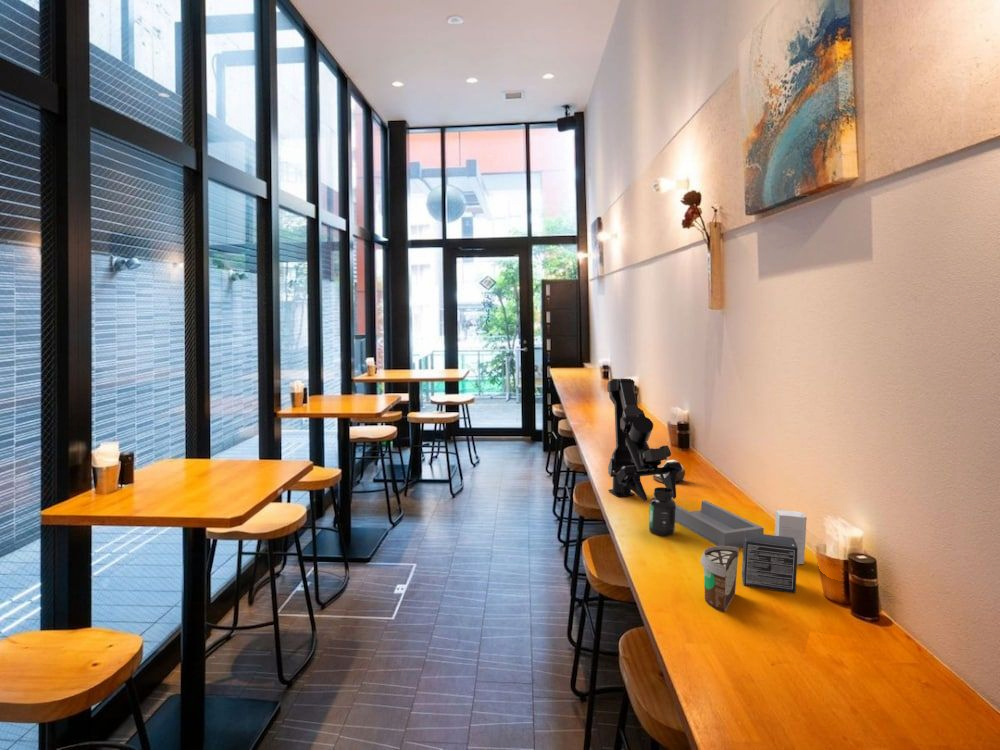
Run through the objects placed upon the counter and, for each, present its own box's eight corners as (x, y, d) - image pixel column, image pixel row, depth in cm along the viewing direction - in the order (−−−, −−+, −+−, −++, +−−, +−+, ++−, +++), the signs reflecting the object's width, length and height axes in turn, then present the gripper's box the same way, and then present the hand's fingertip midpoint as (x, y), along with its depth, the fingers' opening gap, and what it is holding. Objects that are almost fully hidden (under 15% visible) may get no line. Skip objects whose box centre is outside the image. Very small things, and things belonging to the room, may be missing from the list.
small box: (791, 581, 128) (794, 536, 127) (796, 594, 122) (799, 547, 121) (740, 573, 131) (743, 530, 130) (743, 586, 125) (745, 540, 124)
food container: (707, 583, 126) (709, 540, 125) (736, 591, 123) (739, 546, 122) (691, 606, 116) (693, 559, 115) (722, 615, 113) (725, 567, 112)
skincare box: (799, 558, 140) (802, 511, 139) (804, 565, 136) (807, 517, 135) (772, 555, 141) (775, 509, 140) (776, 562, 137) (779, 515, 136)
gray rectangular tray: (666, 516, 168) (666, 503, 168) (702, 511, 172) (703, 498, 172) (724, 549, 145) (725, 534, 144) (765, 543, 149) (766, 528, 148)
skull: (645, 477, 205) (655, 454, 209) (655, 492, 211) (665, 468, 215) (676, 483, 196) (685, 459, 200) (686, 498, 202) (695, 474, 206)
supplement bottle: (647, 534, 154) (649, 491, 153) (650, 526, 160) (651, 484, 159) (673, 538, 152) (675, 494, 150) (675, 529, 158) (677, 487, 157)
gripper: (622, 437, 156) (643, 488, 147) (680, 434, 162) (703, 482, 153) (607, 458, 164) (626, 507, 155) (662, 454, 170) (684, 501, 161)
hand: (660, 499), depth 156 cm, fingers open, 9 cm apart
